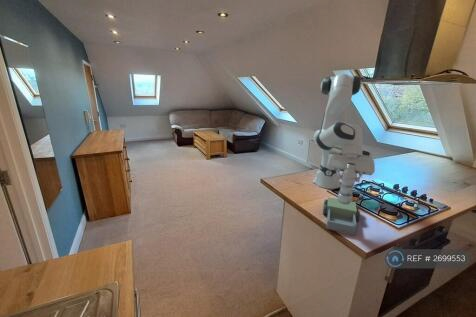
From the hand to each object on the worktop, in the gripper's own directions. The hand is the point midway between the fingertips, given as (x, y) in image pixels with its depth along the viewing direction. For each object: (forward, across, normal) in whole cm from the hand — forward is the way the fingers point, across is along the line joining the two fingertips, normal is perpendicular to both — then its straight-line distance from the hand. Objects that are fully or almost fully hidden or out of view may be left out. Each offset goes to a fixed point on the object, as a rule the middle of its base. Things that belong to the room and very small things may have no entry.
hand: (348, 180), depth 103 cm
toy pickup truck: (+14, 0, +22) cm, 26 cm away
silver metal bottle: (+8, 0, +9) cm, 13 cm away
